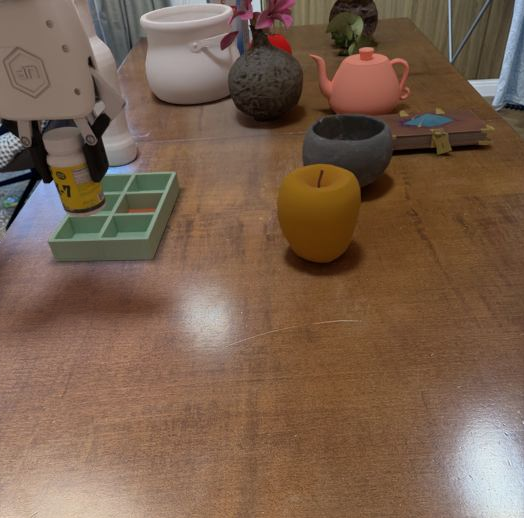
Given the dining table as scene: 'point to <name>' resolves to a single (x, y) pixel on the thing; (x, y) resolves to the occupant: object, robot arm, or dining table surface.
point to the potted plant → (353, 24)
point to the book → (437, 129)
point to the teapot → (363, 84)
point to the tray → (120, 220)
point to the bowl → (350, 145)
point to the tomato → (278, 42)
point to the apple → (319, 210)
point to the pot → (189, 52)
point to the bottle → (117, 133)
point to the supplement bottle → (72, 172)
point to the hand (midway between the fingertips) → (75, 176)
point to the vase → (264, 66)
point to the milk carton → (237, 23)
